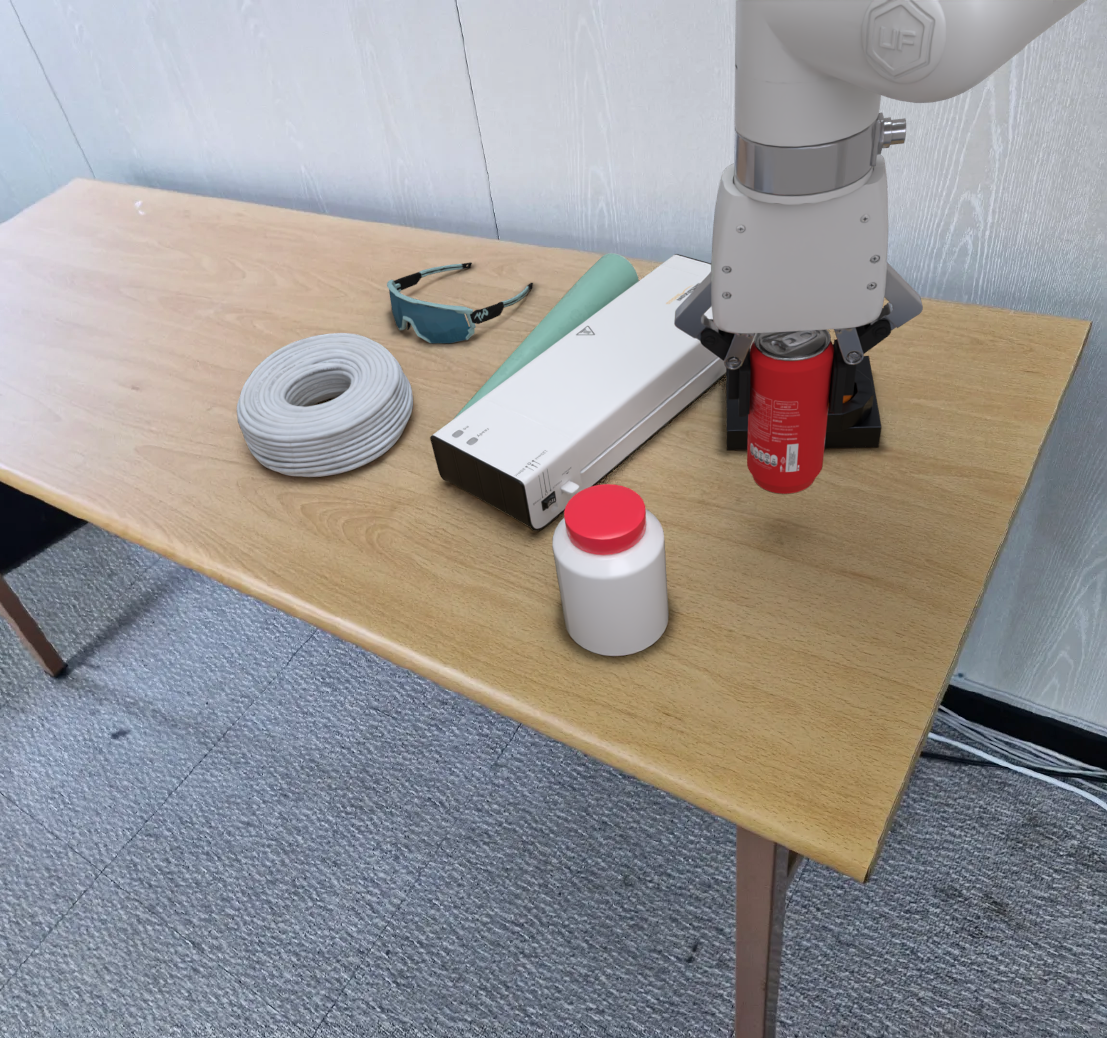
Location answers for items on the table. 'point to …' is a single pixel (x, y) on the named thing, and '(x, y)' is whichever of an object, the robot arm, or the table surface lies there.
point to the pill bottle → (611, 571)
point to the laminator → (582, 402)
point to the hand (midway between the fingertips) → (788, 400)
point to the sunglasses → (440, 310)
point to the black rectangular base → (842, 430)
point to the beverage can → (788, 408)
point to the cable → (324, 405)
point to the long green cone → (567, 315)
